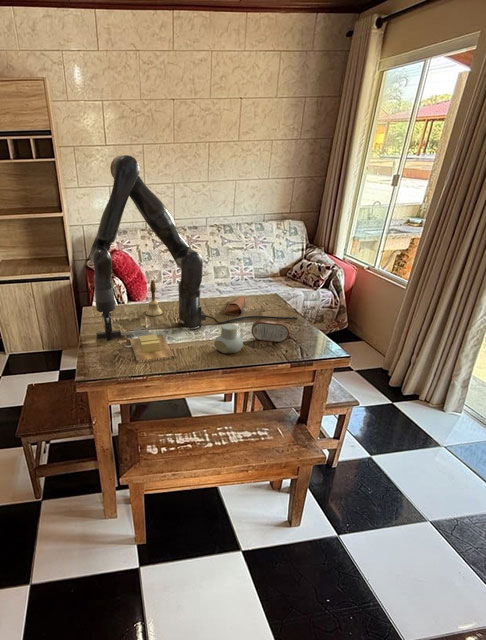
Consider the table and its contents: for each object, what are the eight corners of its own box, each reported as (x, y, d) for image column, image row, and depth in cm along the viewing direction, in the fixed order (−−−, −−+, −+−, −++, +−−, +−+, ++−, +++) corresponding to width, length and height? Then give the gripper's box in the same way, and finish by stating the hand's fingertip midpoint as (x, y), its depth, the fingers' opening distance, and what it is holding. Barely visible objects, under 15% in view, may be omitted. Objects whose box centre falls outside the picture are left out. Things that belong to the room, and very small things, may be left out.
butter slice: (159, 348, 159) (158, 340, 157) (160, 350, 157) (159, 342, 155) (141, 350, 158) (141, 342, 156) (142, 352, 156) (141, 344, 154)
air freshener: (210, 348, 160) (211, 325, 155) (225, 343, 164) (226, 319, 159) (230, 358, 152) (232, 333, 147) (246, 352, 156) (247, 327, 151)
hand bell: (144, 311, 199) (142, 278, 191) (160, 309, 201) (159, 277, 193) (147, 316, 192) (145, 283, 184) (164, 314, 194) (163, 281, 186)
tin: (289, 341, 163) (291, 321, 159) (288, 344, 161) (291, 324, 157) (251, 337, 168) (252, 318, 164) (250, 340, 165) (251, 320, 161)
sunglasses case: (228, 301, 206) (235, 290, 203) (239, 308, 206) (247, 297, 203) (223, 313, 191) (231, 302, 187) (235, 321, 191) (244, 310, 188)
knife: (97, 341, 169) (96, 334, 168) (97, 339, 171) (96, 332, 170) (149, 335, 173) (149, 328, 172) (148, 333, 175) (148, 326, 173)
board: (162, 337, 170) (162, 335, 170) (173, 358, 153) (173, 355, 153) (129, 341, 168) (129, 339, 168) (137, 363, 151) (136, 360, 150)
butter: (156, 342, 164) (155, 334, 162) (158, 347, 160) (158, 339, 158) (139, 344, 163) (138, 336, 161) (141, 349, 159) (140, 341, 157)
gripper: (116, 303, 157) (119, 341, 165) (112, 292, 169) (115, 328, 177) (96, 305, 156) (100, 343, 164) (94, 294, 168) (98, 330, 176)
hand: (108, 335), depth 170 cm, fingers open, 8 cm apart
